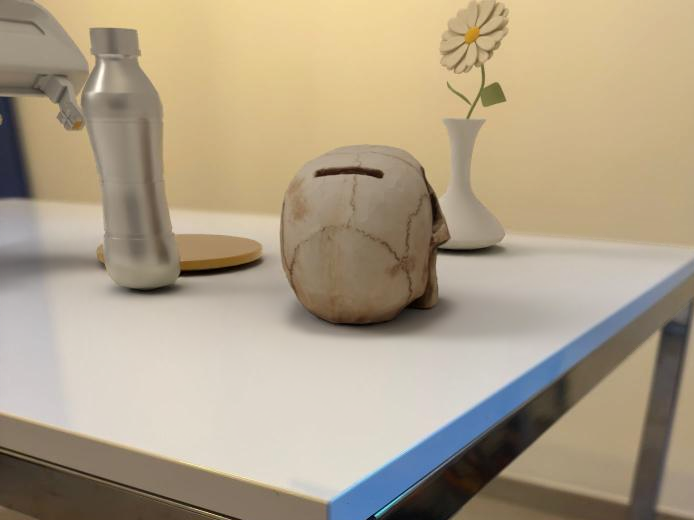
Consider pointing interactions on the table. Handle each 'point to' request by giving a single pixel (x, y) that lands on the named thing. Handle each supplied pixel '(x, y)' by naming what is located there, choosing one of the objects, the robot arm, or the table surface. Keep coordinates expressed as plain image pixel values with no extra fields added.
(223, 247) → the plate
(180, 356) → the table surface
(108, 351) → the table surface
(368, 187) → the coin bank
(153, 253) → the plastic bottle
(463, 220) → the flower in vase
